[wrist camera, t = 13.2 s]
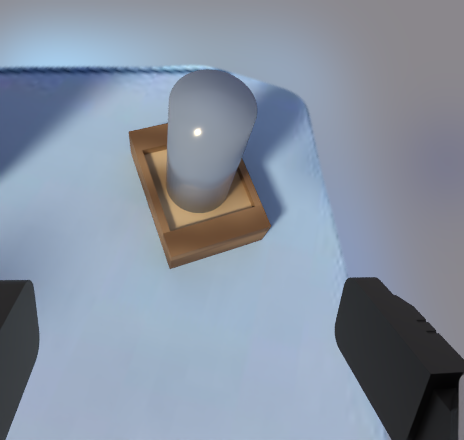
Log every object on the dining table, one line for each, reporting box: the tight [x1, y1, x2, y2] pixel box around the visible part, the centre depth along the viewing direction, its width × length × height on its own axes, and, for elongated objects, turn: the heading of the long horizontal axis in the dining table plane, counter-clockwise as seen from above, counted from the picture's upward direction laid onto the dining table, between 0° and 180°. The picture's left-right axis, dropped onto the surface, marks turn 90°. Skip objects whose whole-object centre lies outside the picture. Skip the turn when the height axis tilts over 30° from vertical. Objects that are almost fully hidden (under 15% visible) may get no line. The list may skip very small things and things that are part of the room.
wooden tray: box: [129, 123, 271, 269], centre depth 37 cm, size 12×9×4 cm
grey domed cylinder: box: [166, 70, 257, 213], centre depth 31 cm, size 6×6×11 cm
